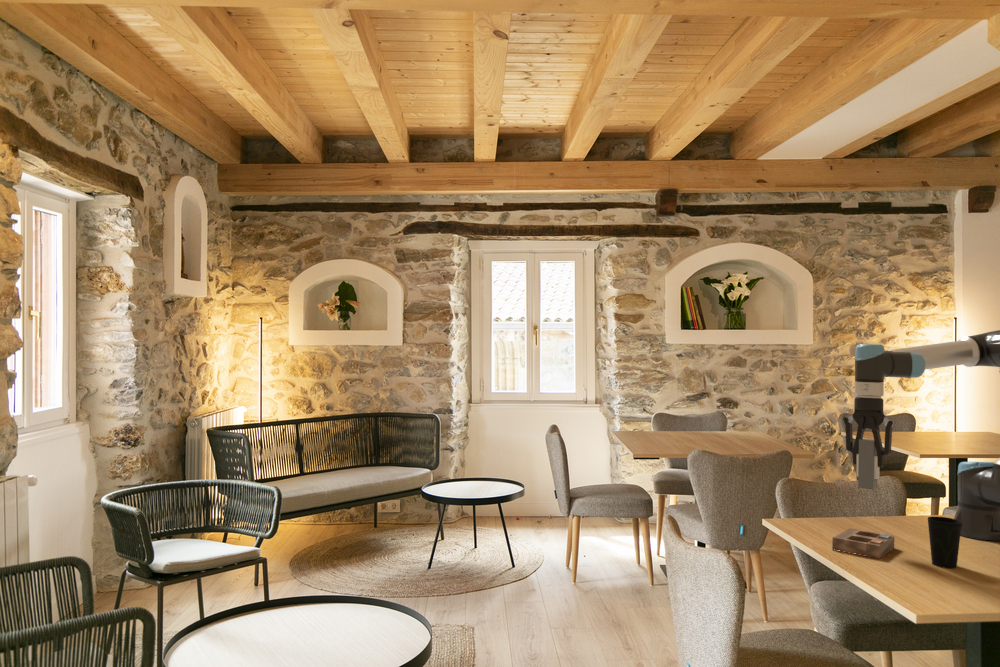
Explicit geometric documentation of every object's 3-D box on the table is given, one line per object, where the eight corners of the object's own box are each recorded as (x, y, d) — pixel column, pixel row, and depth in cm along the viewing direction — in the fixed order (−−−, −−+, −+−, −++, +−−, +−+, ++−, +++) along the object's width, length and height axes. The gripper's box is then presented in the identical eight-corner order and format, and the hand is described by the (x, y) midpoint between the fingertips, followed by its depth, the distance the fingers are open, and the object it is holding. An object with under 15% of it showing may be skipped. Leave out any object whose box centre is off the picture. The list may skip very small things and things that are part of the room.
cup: (950, 570, 181) (950, 524, 182) (921, 562, 188) (921, 517, 189) (967, 567, 185) (967, 521, 185) (938, 559, 192) (938, 515, 192)
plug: (877, 488, 204) (877, 439, 205) (873, 489, 202) (873, 440, 202) (862, 486, 207) (862, 438, 208) (858, 487, 204) (858, 439, 205)
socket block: (894, 548, 203) (894, 534, 203) (879, 558, 191) (879, 544, 191) (849, 539, 211) (849, 526, 211) (832, 549, 199) (832, 536, 199)
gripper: (833, 395, 208) (832, 474, 208) (898, 399, 197) (897, 482, 196) (841, 394, 214) (840, 472, 213) (904, 398, 202) (904, 479, 201)
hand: (867, 477), depth 204 cm, fingers closed on plug, 4 cm apart
